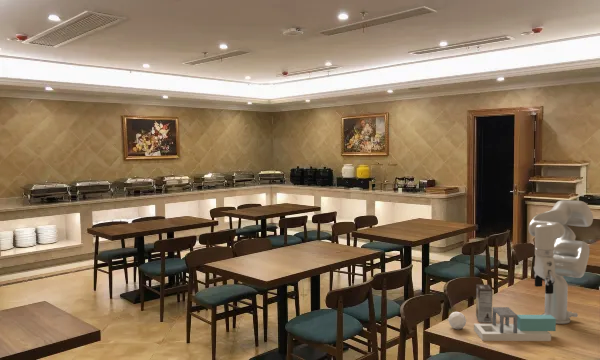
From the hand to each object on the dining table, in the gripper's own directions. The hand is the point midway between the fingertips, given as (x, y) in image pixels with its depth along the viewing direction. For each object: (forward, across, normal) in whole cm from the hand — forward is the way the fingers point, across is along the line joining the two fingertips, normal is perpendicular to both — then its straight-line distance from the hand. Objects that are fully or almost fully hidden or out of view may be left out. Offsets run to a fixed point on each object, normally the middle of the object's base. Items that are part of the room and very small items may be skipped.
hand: (543, 289), depth 215 cm
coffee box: (+20, +17, +20) cm, 33 cm away
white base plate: (+19, -3, +16) cm, 25 cm away
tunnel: (+16, -3, +19) cm, 25 cm away
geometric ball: (+19, +6, +37) cm, 42 cm away
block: (+16, -3, +5) cm, 18 cm away
